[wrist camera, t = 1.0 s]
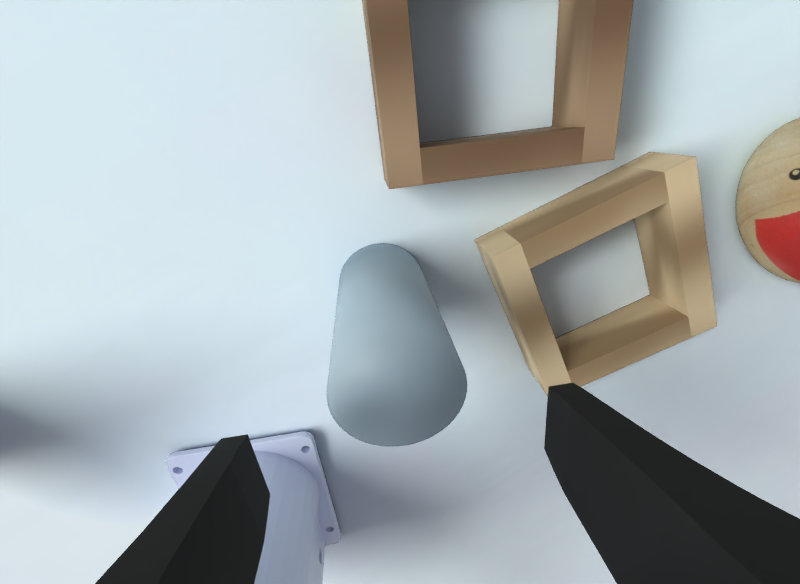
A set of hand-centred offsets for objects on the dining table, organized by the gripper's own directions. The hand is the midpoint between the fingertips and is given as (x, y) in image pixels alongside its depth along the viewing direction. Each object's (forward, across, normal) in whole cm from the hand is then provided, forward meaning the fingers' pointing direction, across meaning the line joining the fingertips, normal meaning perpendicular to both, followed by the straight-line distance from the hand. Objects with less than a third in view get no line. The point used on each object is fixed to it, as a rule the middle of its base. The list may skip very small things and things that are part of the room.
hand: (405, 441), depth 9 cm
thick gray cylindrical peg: (+10, 0, 0) cm, 10 cm away
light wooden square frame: (+10, -10, +1) cm, 14 cm away
